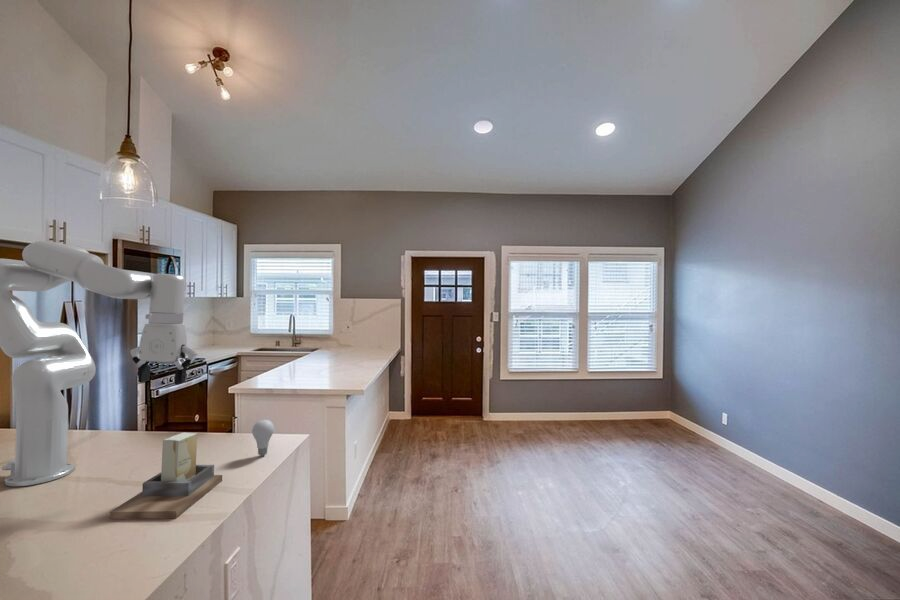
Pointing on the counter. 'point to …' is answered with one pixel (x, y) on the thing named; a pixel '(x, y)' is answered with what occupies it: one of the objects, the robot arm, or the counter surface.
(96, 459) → the counter surface
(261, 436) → the lightbulb
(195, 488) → the holder board
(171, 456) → the skincare box
